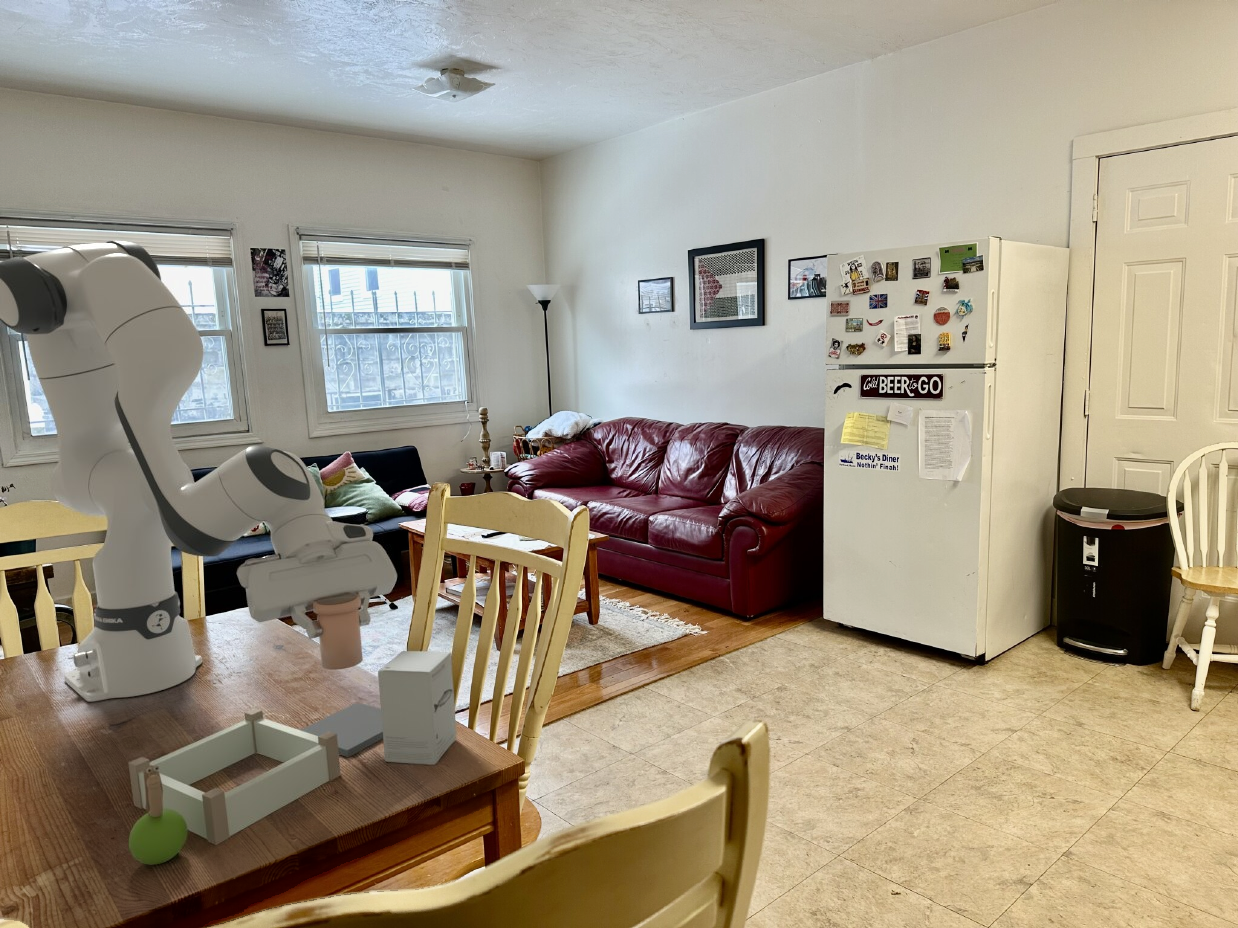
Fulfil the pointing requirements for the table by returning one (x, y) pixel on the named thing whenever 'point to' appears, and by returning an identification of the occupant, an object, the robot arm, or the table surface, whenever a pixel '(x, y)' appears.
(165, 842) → the snail figurine
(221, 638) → the table surface
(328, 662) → the terracotta pot
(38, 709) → the table surface
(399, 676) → the supplement box
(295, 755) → the raised garden bed frame
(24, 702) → the table surface
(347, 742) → the rubber mat
